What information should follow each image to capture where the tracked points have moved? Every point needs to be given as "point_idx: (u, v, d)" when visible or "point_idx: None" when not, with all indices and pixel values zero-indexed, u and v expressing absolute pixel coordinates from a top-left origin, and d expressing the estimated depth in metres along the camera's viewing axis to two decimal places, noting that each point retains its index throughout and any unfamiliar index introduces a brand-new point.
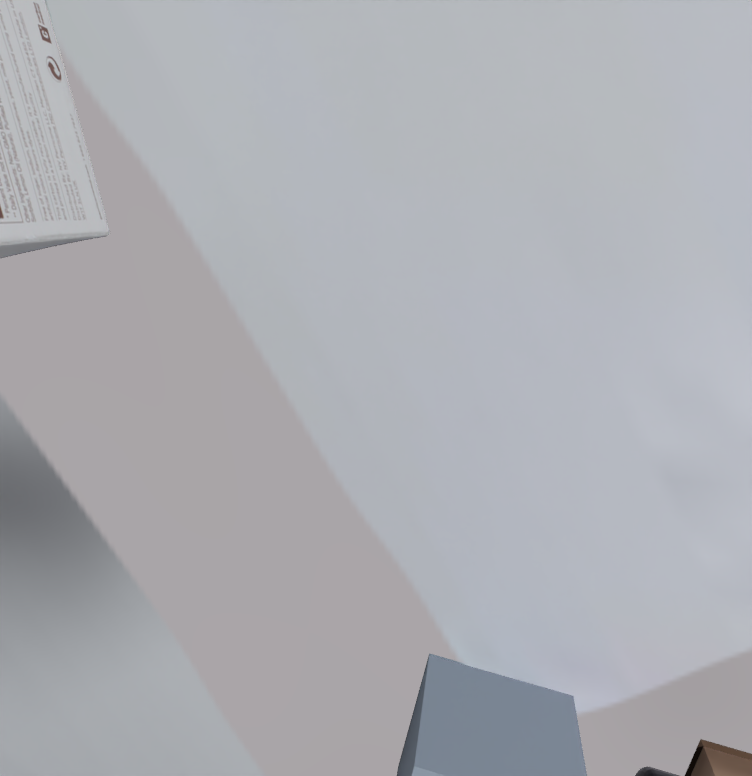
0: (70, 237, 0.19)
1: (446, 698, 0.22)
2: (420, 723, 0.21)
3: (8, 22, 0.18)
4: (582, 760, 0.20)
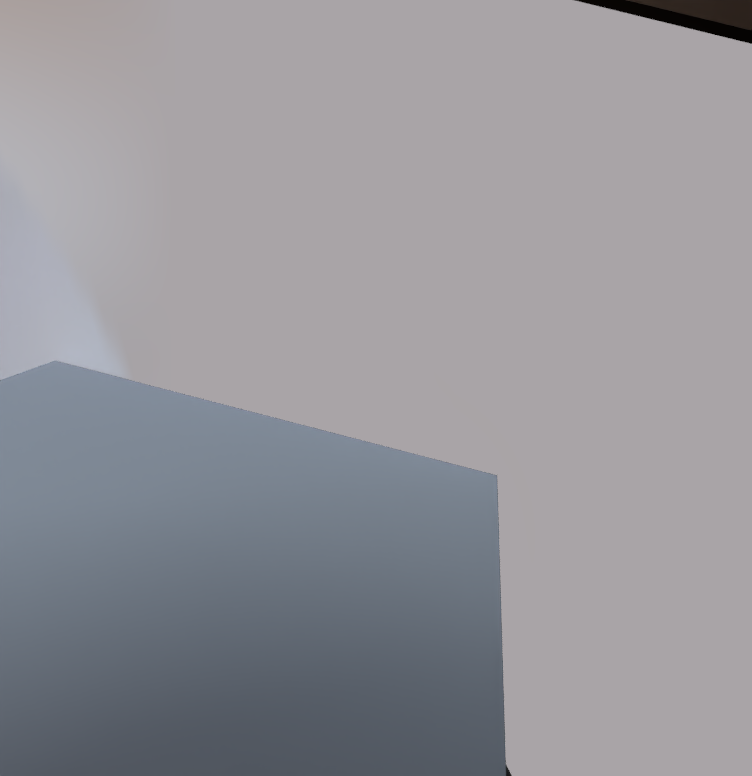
0: None
1: None
2: None
3: None
4: None
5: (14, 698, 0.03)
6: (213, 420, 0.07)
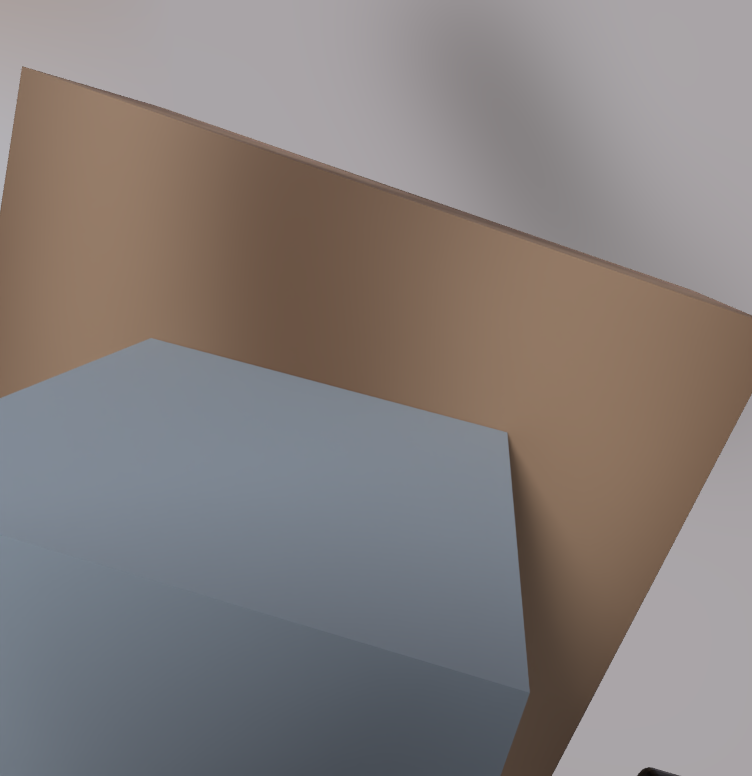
0: None
1: None
2: None
3: None
4: (8, 399, 0.07)
5: (211, 537, 0.05)
6: (283, 385, 0.09)
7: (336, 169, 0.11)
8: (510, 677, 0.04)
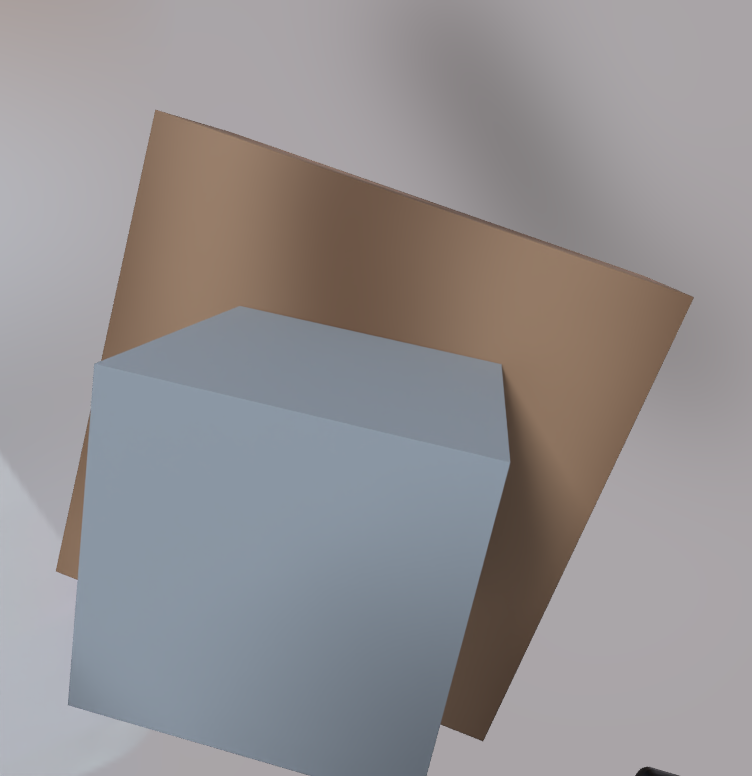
0: None
1: None
2: None
3: None
4: None
5: (322, 399, 0.08)
6: (340, 334, 0.12)
7: (372, 182, 0.15)
8: (499, 457, 0.08)
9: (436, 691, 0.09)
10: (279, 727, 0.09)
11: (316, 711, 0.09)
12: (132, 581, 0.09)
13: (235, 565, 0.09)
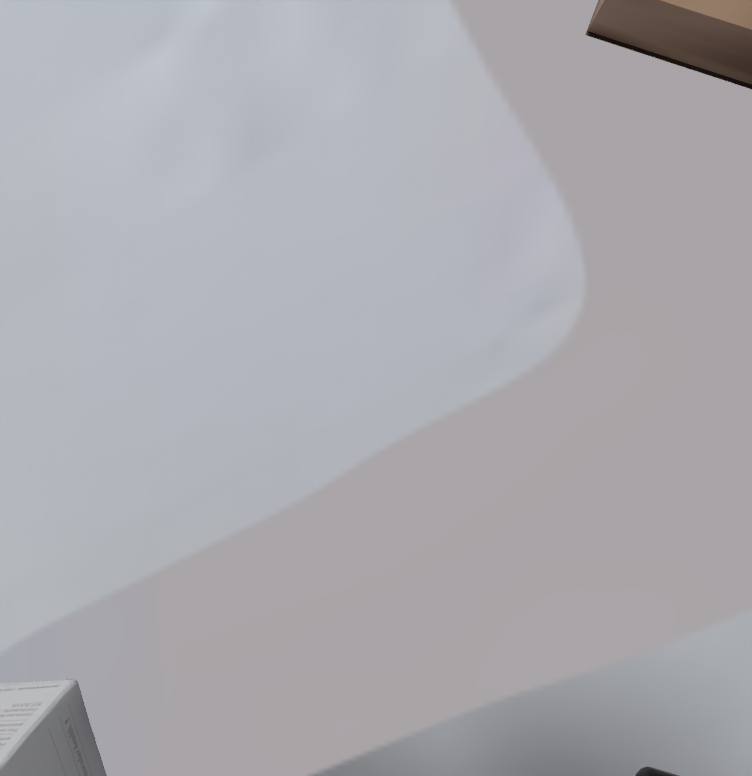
0: (37, 723, 0.22)
1: None
2: None
3: None
4: None
5: None
6: None
7: None
8: None
9: None
10: None
11: None
12: None
13: None
